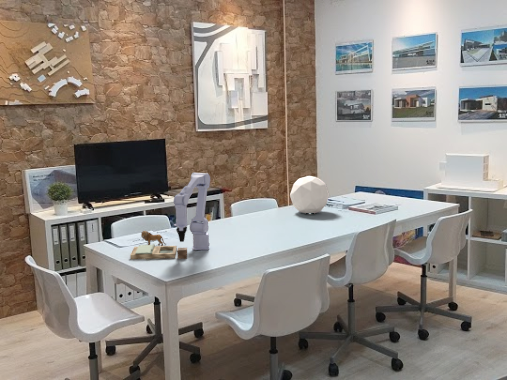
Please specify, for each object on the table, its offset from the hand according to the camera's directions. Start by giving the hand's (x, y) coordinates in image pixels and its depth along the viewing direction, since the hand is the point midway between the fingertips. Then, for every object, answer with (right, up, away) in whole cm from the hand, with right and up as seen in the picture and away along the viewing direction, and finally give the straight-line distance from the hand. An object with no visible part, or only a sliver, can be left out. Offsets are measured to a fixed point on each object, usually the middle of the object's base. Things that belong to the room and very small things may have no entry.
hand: (182, 240), depth 307 cm
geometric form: (+82, +10, +121) cm, 147 cm away
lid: (-21, -6, +7) cm, 23 cm away
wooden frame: (-17, -8, +8) cm, 20 cm away
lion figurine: (-21, -6, +28) cm, 35 cm away
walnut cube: (0, -9, +1) cm, 10 cm away
